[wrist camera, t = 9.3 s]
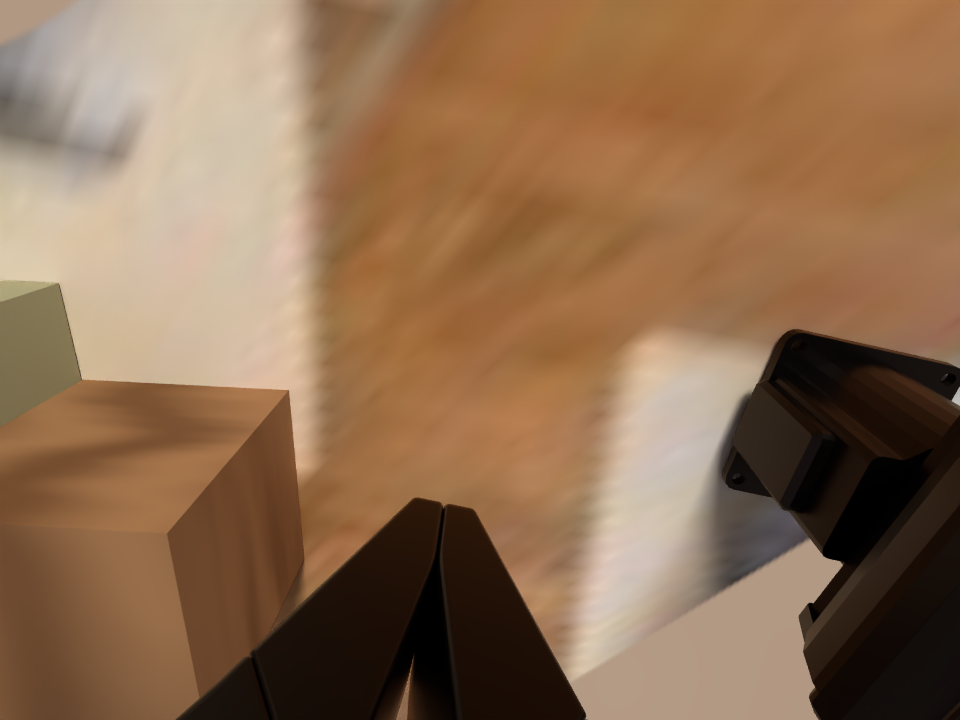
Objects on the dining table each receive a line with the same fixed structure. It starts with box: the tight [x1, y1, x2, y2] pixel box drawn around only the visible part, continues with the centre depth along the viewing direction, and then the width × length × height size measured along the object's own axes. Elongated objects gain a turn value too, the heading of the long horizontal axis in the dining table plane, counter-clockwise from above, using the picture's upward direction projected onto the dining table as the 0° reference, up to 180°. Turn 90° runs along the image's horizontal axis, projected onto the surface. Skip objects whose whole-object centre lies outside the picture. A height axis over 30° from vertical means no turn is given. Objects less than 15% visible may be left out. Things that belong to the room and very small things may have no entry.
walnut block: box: [0, 380, 304, 720], centre depth 19 cm, size 8×8×8 cm
